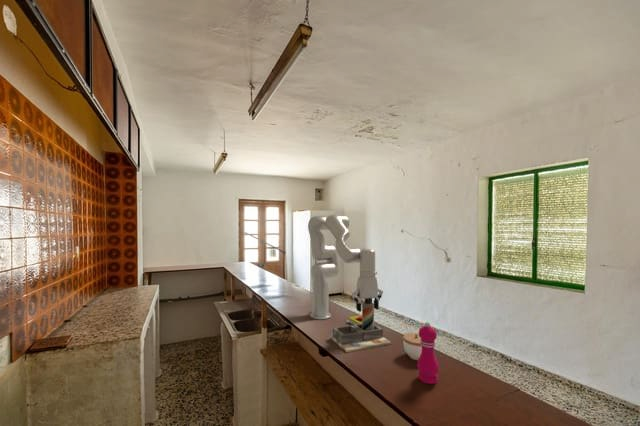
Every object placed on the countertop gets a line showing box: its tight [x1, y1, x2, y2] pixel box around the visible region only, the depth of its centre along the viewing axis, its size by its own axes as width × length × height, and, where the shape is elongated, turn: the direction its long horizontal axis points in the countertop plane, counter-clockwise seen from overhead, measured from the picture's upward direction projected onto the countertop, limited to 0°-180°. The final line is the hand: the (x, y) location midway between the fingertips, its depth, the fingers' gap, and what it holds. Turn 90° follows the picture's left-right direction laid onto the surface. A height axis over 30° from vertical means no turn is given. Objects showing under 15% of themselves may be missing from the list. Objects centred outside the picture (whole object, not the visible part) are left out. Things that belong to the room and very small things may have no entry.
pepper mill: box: [416, 321, 440, 385], centre depth 99 cm, size 7×7×20 cm
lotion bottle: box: [361, 298, 375, 331], centre depth 136 cm, size 6×6×20 cm
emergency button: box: [346, 314, 362, 325], centre depth 154 cm, size 9×4×15 cm
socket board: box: [330, 323, 392, 354], centre depth 131 cm, size 16×23×5 cm
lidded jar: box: [402, 332, 422, 361], centre depth 116 cm, size 11×11×9 cm
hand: (367, 309), depth 136 cm, fingers open, 9 cm apart
